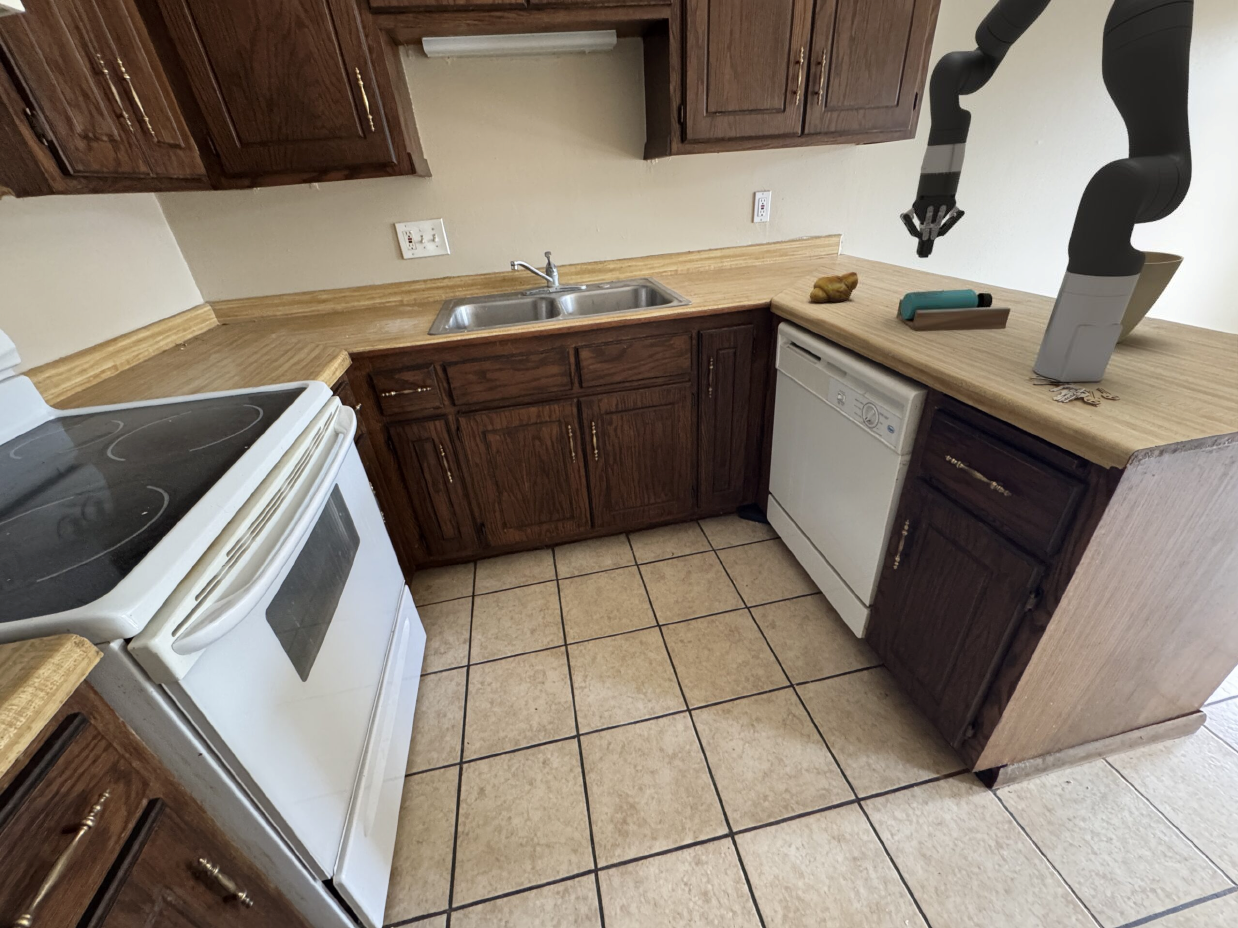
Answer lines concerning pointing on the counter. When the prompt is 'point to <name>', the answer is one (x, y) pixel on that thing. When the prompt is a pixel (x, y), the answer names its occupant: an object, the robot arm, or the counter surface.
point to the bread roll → (834, 288)
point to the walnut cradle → (957, 318)
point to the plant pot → (1149, 288)
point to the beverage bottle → (943, 301)
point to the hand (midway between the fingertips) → (923, 257)
